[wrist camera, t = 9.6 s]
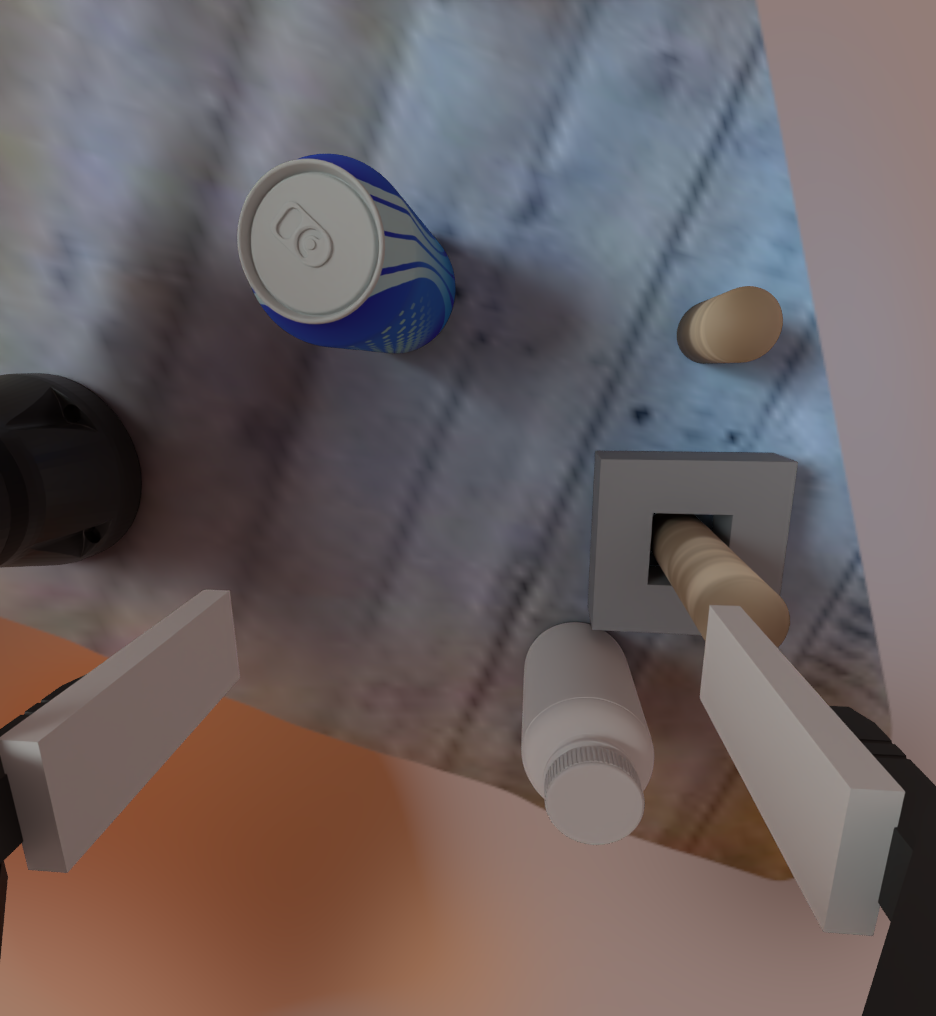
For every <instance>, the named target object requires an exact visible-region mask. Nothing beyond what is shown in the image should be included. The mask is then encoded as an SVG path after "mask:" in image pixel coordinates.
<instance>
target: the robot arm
mask: <svg viewBox="0 0 936 1016" xmlns="http://www.w3.org/2000/svg"><path fill="white" fill-rule="evenodd" d="M140 495H141V474H140V467H139V462H138V458H137V454H136V451H135V448H134V446H133V443H132V441H131V439H130V437H129V435H128V433H127V431H126V429H125V428H124V426H123V424H122V423H121V421H120V420H119V419H118V417H117V416H116V415H115V414H114V412H113V411H112V410H111V409H110V408H109V407H108V406H107V405H106V404H105V403H104V402H103V401H102V400H101V399H100V398H99V397H97V396H96V395H95V394H94V393H92V392H91V391H90V390H88V389H86V388H85V387H83V386H81V385H79V384H78V383H76V382H73V381H71V380H69V379H66V378H63V377H60V376H56V375H51V374H41V373H27V374H6V375H0V567H23V566H49V565H62V564H68V563H73V562H76V561H79V560H82V559H85V558H87V557H90V556H92V555H94V554H97V553H99V552H101V551H104V550H106V549H107V548H109V547H111V546H112V545H114V544H115V543H116V542H117V541H118V540H119V539H120V538H121V537H122V536H123V535H124V534H125V533H126V532H127V530H128V529H129V527H130V526H131V524H132V522H133V520H134V518H135V515H136V513H137V510H138V506H139V502H140ZM239 678H240V671H239V663H238V654H237V646H236V638H235V629H234V621H233V613H232V604H231V596H230V590H203V591H201V592H200V593H199V594H197V595H196V596H194V597H193V598H192V599H190V600H189V601H188V602H186V603H185V604H183V605H182V606H181V607H179V608H178V609H176V610H175V611H174V612H172V613H171V614H170V615H168V616H167V617H165V618H164V619H163V620H161V621H160V622H158V623H157V624H156V625H154V626H153V627H152V628H150V629H149V630H147V631H146V632H145V633H143V634H142V635H141V636H139V637H138V638H136V639H135V640H134V641H132V642H131V643H129V644H128V645H127V646H125V647H124V648H123V649H121V650H120V651H118V652H117V653H116V654H114V655H113V656H111V657H110V658H109V659H107V660H106V661H105V662H103V663H102V664H100V665H99V666H98V667H96V668H95V669H94V670H92V671H91V672H89V673H88V674H86V675H84V676H82V677H80V678H77V679H75V680H73V681H71V682H69V683H67V684H64V685H62V686H61V687H59V688H58V689H56V690H55V691H53V692H52V693H51V694H49V695H48V696H46V697H45V698H44V699H42V700H41V703H37V704H35V705H34V706H32V707H31V708H29V709H28V710H27V711H25V714H24V715H20V716H18V717H17V718H16V719H14V720H13V721H11V722H10V723H8V724H7V725H5V726H4V727H3V728H1V729H0V956H1V946H2V935H3V924H4V913H5V902H6V890H7V880H8V876H7V872H6V868H5V864H4V859H6V858H7V856H9V855H10V854H11V853H12V852H13V851H14V850H15V849H16V848H17V847H18V846H19V845H20V844H21V843H22V846H23V850H24V854H25V858H26V862H27V866H28V870H38V871H51V872H64V873H68V872H69V870H70V869H71V868H72V867H73V866H74V865H75V864H76V862H77V861H78V860H79V859H80V858H81V857H82V856H83V855H84V853H85V852H86V851H87V850H88V849H89V848H90V847H91V846H92V844H93V843H94V842H95V841H96V840H97V839H98V838H99V836H100V835H101V834H102V833H103V832H104V831H105V830H106V829H107V827H108V826H109V825H110V824H111V823H112V822H113V820H115V818H116V817H117V816H118V815H119V814H120V812H122V811H123V809H124V808H125V807H126V806H127V805H128V804H129V803H130V801H131V800H132V799H133V798H134V797H135V796H136V795H137V793H138V792H139V791H140V790H141V789H142V788H143V787H144V786H145V784H146V783H147V782H148V781H149V780H150V779H151V778H152V776H153V775H154V774H155V773H156V772H157V771H158V770H159V768H160V767H161V766H162V765H163V764H164V763H165V762H166V761H167V760H168V758H169V757H170V756H171V755H172V754H173V753H174V752H175V750H176V749H177V748H178V747H179V746H180V745H181V744H182V743H183V742H184V740H185V739H186V738H187V737H188V736H189V735H190V734H191V733H192V731H193V730H194V729H195V728H196V727H197V726H198V724H200V722H201V721H202V720H203V719H204V718H205V717H206V716H207V714H208V713H209V712H210V711H211V710H212V709H213V708H214V707H215V705H216V704H217V703H218V702H219V701H220V699H222V698H223V696H224V695H225V694H226V693H227V692H228V691H229V690H230V688H231V687H232V686H233V685H234V684H235V683H236V682H237V681H238V679H239ZM700 700H701V702H702V704H703V705H704V707H705V709H706V711H707V713H708V715H709V717H710V719H711V721H712V722H713V724H714V726H715V728H716V730H717V732H718V734H719V736H720V738H721V740H722V741H723V743H724V745H725V747H726V749H727V751H728V753H729V755H730V757H731V758H732V760H733V762H734V764H735V766H736V768H737V770H738V772H739V774H740V775H741V777H742V779H743V781H744V783H745V785H746V787H747V789H748V791H749V793H750V794H751V796H752V798H753V800H754V802H755V804H756V806H757V808H758V810H759V811H760V813H761V815H762V817H763V819H764V821H765V823H766V825H767V827H768V829H769V830H770V832H771V834H772V836H773V838H774V840H775V842H776V844H777V846H778V847H779V849H780V851H781V853H782V855H783V857H784V859H785V861H786V863H787V864H788V866H789V868H790V870H791V872H792V874H793V876H794V878H795V880H796V882H797V883H798V885H799V887H800V889H801V891H802V893H803V895H804V897H805V899H806V900H807V902H808V904H809V906H810V908H811V910H812V912H813V914H814V915H815V917H816V919H817V921H818V923H819V925H820V927H821V929H822V931H823V932H828V933H841V934H853V935H866V936H873V935H874V931H875V926H876V921H877V917H878V912H879V908H880V906H881V908H882V909H883V911H884V912H885V913H886V915H887V916H888V918H889V920H890V921H891V923H890V927H889V930H888V933H887V936H886V939H885V943H884V946H883V949H882V953H881V956H880V959H879V962H878V965H877V969H876V972H875V975H874V978H873V982H872V985H871V988H870V991H869V995H868V998H867V1001H866V1004H865V1007H864V1011H863V1014H862V1016H936V786H935V785H934V784H933V783H932V782H931V781H930V780H929V779H928V778H927V777H926V775H924V773H923V772H922V771H921V770H920V769H919V768H918V767H917V766H916V765H915V764H914V763H913V762H912V761H911V760H909V759H906V755H905V754H904V753H903V752H902V751H901V750H900V749H899V748H898V747H897V746H896V745H895V744H892V741H891V740H890V739H889V737H888V736H887V735H886V734H885V733H884V732H883V731H882V730H881V729H880V728H879V727H878V726H877V725H876V724H875V723H874V722H872V721H871V720H869V719H867V718H866V717H864V716H862V715H861V714H859V713H858V712H856V711H854V710H853V709H851V708H850V707H840V706H829V705H828V704H827V703H826V702H825V701H824V700H823V699H822V698H821V696H820V695H819V694H818V693H817V692H816V691H815V690H814V689H813V687H812V686H811V685H810V684H809V683H808V682H807V681H806V680H805V679H804V677H803V676H802V675H801V674H800V673H799V672H798V671H797V670H796V668H795V667H794V666H793V665H792V664H791V663H790V662H789V661H788V659H787V658H786V657H785V656H784V655H783V654H782V653H781V652H780V650H779V649H778V648H777V647H776V646H775V645H774V644H773V643H772V641H771V640H770V639H769V638H768V637H767V636H766V635H765V634H764V632H763V631H762V630H761V629H760V628H759V627H758V626H757V625H756V623H755V622H754V621H753V620H752V619H751V618H750V617H749V616H748V614H747V613H746V612H745V611H744V610H743V609H742V608H741V607H740V606H725V605H710V606H709V615H708V625H707V634H706V643H705V652H704V662H703V671H702V680H701V689H700Z"/></svg>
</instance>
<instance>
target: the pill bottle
mask: <svg viewBox="0 0 936 1016" xmlns="http://www.w3.org/2000/svg"><path fill="white" fill-rule="evenodd" d="M521 752H522V761H523V766H524V769H525V771H526V774H527V776H528V778H529V780H530V782H531V784H532V785H533V787H534V788H535V789H536V791H537V792H538V793H539V794H540V795H541V796H542V797H543V798H544V799H545V808H546V812H547V814H548V816H549V818H550V820H551V822H552V823H553V824H554V826H555V827H556V828H557V829H558V830H559V831H560V832H561V833H563V834H564V835H566V836H567V837H569V838H571V839H573V840H575V841H577V842H580V843H584V844H590V845H604V844H610V843H613V842H616V841H619V840H621V839H622V838H625V837H626V836H628V835H629V834H630V833H631V832H632V831H633V830H634V829H635V828H636V827H637V826H638V824H639V822H640V821H641V818H642V816H643V813H644V808H645V807H644V806H645V802H644V801H645V800H644V794H643V791H644V790H645V788H646V786H647V785H648V783H649V780H650V778H651V775H652V771H653V765H654V747H653V742H652V738H651V735H650V732H649V729H648V726H647V722H646V719H645V716H644V713H643V710H642V707H641V704H640V701H639V697H638V694H637V691H636V688H635V685H634V682H633V679H632V675H631V672H630V669H629V666H628V663H627V660H626V657H625V655H624V653H623V651H622V649H621V647H620V646H619V644H618V643H617V642H616V640H615V639H614V638H613V637H612V636H611V635H609V634H608V633H607V632H605V631H604V630H592V626H591V624H587V623H581V622H568V623H563V624H559V625H556V626H553V627H551V628H549V629H547V630H546V631H544V632H543V633H542V634H541V635H539V636H538V637H537V638H536V640H535V641H534V642H533V644H532V645H531V647H530V649H529V651H528V653H527V657H526V660H525V666H524V688H523V715H522V743H521Z"/></svg>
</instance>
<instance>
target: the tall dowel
mask: <svg viewBox="0 0 936 1016" xmlns="http://www.w3.org/2000/svg"><path fill="white" fill-rule="evenodd" d="M650 550H651V552H652V554H653V555H654V557H655V559H656V560H657V562H658V564H659V565H660V567H661V569H662V570H663V572H664V573H665V575H666V577H667V578H668V580H669V582H670V583H671V585H672V587H673V588H674V590H675V592H676V593H677V595H678V597H679V598H680V600H681V602H682V603H683V605H684V607H685V608H686V610H687V612H688V613H689V615H690V617H691V618H692V620H693V622H694V623H695V625H696V627H697V628H698V630H699V632H700V633H701V635H702V637H703V638H704V640H705V642H706V634H707V625H708V615H709V606H710V605H725V606H740V607H741V608H742V609H743V610H744V611H745V612H746V613H747V614H748V616H749V617H750V618H751V619H752V620H753V621H754V622H755V623H756V625H757V626H758V627H759V628H760V629H761V630H762V631H763V632H764V634H765V635H766V636H767V637H768V638H769V639H770V640H771V641H772V643H773V644H774V645H775V646H776V647H777V648H778V647H779V646H780V645H781V643H782V642H783V641H784V639H785V637H786V635H787V633H788V630H789V625H790V616H789V611H788V608H787V606H786V604H785V602H784V601H783V599H782V598H781V597H780V596H779V595H778V594H777V593H776V592H775V591H774V590H773V589H772V588H771V587H770V586H769V585H768V584H766V583H765V582H764V581H763V580H762V579H761V578H760V577H759V576H758V575H757V574H756V573H755V572H754V571H753V570H752V569H751V568H750V567H749V566H748V565H747V564H746V563H745V562H743V561H742V560H741V559H740V558H739V557H738V556H737V555H736V554H735V553H734V552H733V551H732V550H731V549H730V548H729V547H728V546H727V545H726V544H725V543H724V542H723V541H722V540H720V539H719V538H718V537H717V536H716V535H715V534H714V533H713V532H712V531H711V530H710V529H709V528H708V527H707V526H706V525H705V524H704V523H703V522H702V521H701V520H700V519H699V518H698V517H696V516H695V515H694V514H670V513H657V514H655V515H654V516H653V517H652V531H651V544H650Z"/></svg>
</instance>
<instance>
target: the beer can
mask: <svg viewBox="0 0 936 1016" xmlns="http://www.w3.org/2000/svg"><path fill="white" fill-rule="evenodd" d="M237 243H238V252H239V258H240V262H241V265H242V268H243V271H244V273H245V276H246V278H247V280H248V282H249V283H250V286H251V288H252V290H253V293H254V294H255V296H256V298H257V300H258V302H259V303H260V305H261V306H262V308H263V309H264V310H265V312H266V313H267V314H268V316H269V317H270V318H271V319H272V320H273V321H274V322H275V323H276V324H277V325H279V326H280V327H281V328H282V329H283V330H285V331H286V332H288V333H289V334H291V335H293V336H294V337H296V338H298V339H300V340H303V341H305V342H308V343H311V344H314V345H318V346H324V347H333V348H343V349H353V350H364V351H374V352H384V353H405V352H410V351H413V350H416V349H418V348H420V347H422V346H424V345H426V344H427V343H429V342H430V341H431V340H432V339H434V338H435V337H436V336H437V335H438V334H439V332H440V331H441V330H442V329H443V327H444V326H445V324H446V322H447V321H448V319H449V316H450V314H451V311H452V308H453V304H454V299H455V277H454V272H453V268H452V265H451V262H450V260H449V258H448V256H447V254H446V252H445V250H444V249H443V247H442V246H441V245H440V243H439V242H438V241H437V240H436V238H435V237H434V236H433V235H432V234H431V232H430V231H429V230H428V229H427V227H426V226H425V225H424V224H423V223H422V221H421V220H420V219H419V218H418V216H417V215H416V214H415V213H414V212H413V210H412V209H411V208H410V207H409V205H408V204H407V203H406V202H405V201H404V199H403V198H402V197H401V196H400V194H399V193H398V192H397V191H396V189H395V188H394V187H393V186H392V185H391V184H390V183H389V182H388V180H386V179H385V178H384V177H383V176H382V175H381V174H380V173H378V172H377V171H376V170H374V169H373V168H371V167H370V166H368V165H366V164H365V163H363V162H360V161H358V160H356V159H353V158H350V157H347V156H343V155H337V154H316V155H309V156H306V157H302V158H299V159H296V160H292V161H288V162H286V163H283V164H280V165H278V166H277V167H275V168H273V169H272V170H270V171H269V172H267V173H266V174H265V175H264V176H262V177H261V178H260V179H259V181H258V182H257V183H256V184H255V185H254V187H253V188H252V189H251V191H250V193H249V194H248V196H247V198H246V200H245V202H244V205H243V207H242V210H241V213H240V217H239V222H238V231H237Z"/></svg>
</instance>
